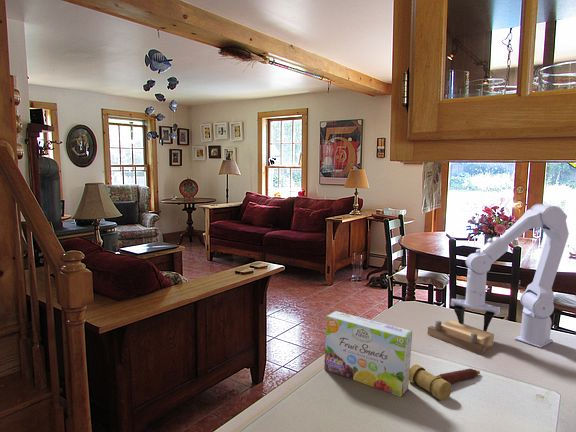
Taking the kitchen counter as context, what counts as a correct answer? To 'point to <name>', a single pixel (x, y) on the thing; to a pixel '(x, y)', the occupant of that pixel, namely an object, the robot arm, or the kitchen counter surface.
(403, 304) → the kitchen counter surface
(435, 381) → the gavel
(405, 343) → the snack box
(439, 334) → the bar
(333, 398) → the kitchen counter surface
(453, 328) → the wooden block
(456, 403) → the kitchen counter surface
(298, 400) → the kitchen counter surface
